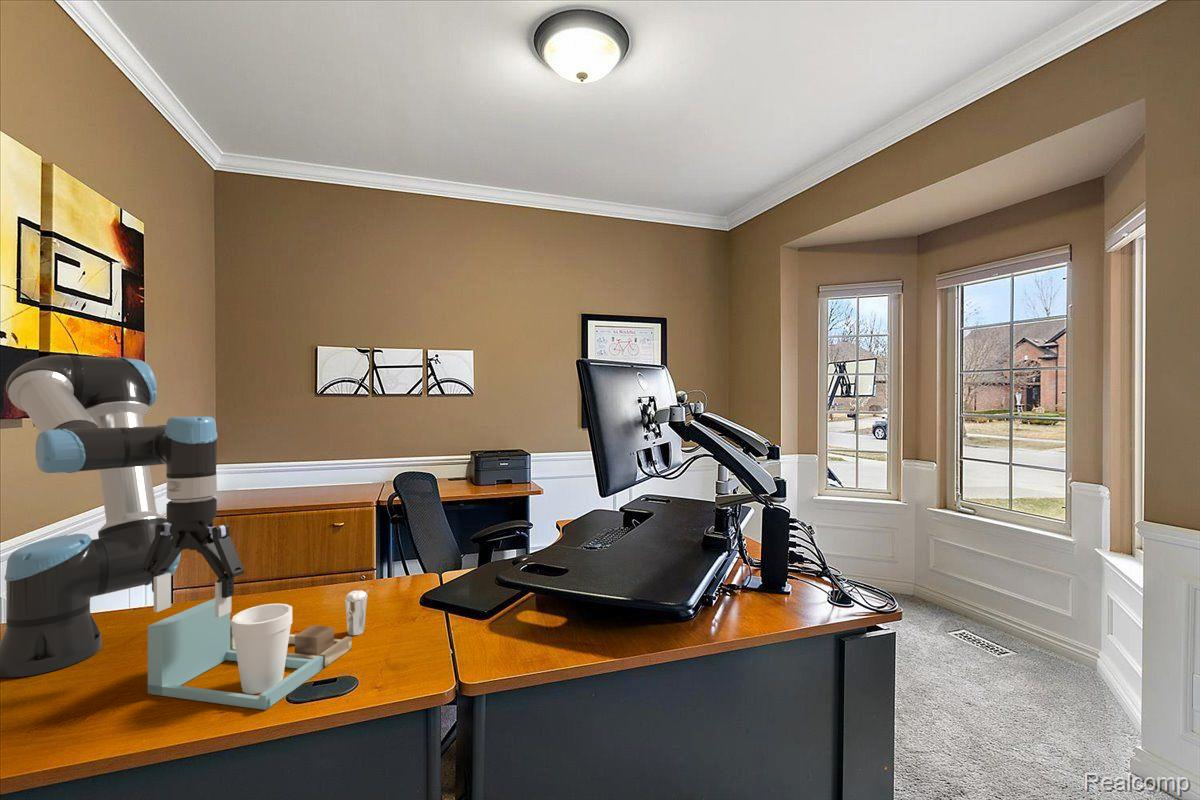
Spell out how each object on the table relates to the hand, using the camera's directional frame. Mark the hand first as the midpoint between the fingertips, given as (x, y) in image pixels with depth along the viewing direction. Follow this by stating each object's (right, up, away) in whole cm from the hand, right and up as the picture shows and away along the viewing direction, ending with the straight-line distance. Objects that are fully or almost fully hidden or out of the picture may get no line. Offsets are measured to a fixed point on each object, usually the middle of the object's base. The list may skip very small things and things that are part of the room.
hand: (192, 612), depth 101 cm
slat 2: (+19, -12, +8) cm, 24 cm away
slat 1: (+6, -12, +11) cm, 17 cm away
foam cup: (+15, -12, -3) cm, 19 cm away
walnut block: (+18, -12, +8) cm, 24 cm away
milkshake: (+22, -12, +19) cm, 32 cm away
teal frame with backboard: (+10, -12, -2) cm, 16 cm away
